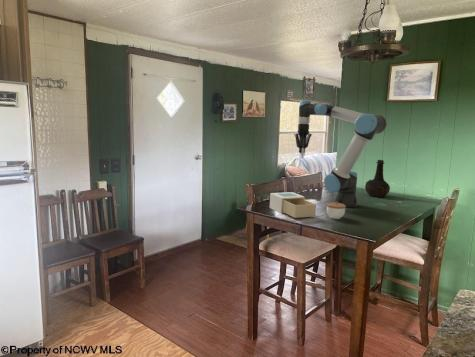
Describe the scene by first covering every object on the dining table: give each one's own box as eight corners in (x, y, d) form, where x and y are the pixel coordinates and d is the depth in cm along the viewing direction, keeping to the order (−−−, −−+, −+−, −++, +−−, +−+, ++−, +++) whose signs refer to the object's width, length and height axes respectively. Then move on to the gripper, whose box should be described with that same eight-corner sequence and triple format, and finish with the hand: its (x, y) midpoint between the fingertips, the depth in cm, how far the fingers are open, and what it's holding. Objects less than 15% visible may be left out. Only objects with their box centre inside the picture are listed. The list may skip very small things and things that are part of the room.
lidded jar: (345, 220, 204) (346, 204, 203) (325, 219, 207) (327, 203, 205) (343, 216, 215) (345, 200, 213) (325, 214, 217) (326, 199, 215)
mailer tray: (272, 206, 226) (273, 195, 225) (291, 205, 232) (292, 194, 230) (294, 217, 203) (295, 205, 202) (315, 216, 208) (316, 204, 207)
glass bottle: (368, 192, 292) (371, 158, 287) (391, 196, 281) (395, 160, 277) (361, 195, 277) (364, 159, 273) (385, 199, 267) (389, 161, 263)
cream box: (269, 207, 227) (270, 193, 226) (291, 206, 234) (292, 191, 232) (280, 213, 215) (281, 197, 213) (303, 211, 221) (304, 196, 220)
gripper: (308, 123, 255) (306, 157, 259) (292, 123, 250) (290, 157, 254) (314, 123, 248) (312, 158, 252) (298, 123, 243) (296, 158, 247)
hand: (301, 157), depth 253 cm, fingers closed
